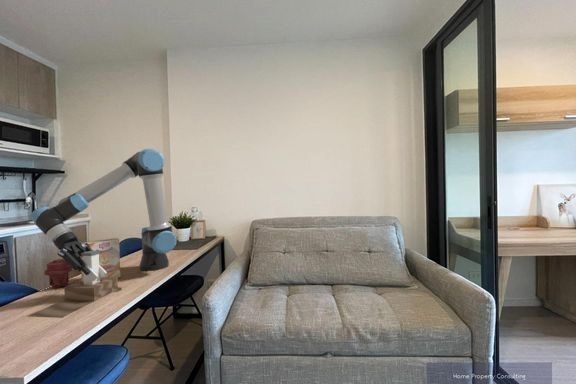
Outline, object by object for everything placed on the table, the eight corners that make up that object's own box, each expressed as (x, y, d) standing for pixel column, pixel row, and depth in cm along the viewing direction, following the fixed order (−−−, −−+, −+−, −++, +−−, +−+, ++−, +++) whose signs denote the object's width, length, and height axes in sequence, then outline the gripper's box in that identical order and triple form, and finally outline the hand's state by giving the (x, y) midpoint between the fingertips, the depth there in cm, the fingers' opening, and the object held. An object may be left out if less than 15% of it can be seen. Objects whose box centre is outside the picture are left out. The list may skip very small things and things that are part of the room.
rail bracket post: (91, 288, 123) (90, 250, 123) (101, 288, 123) (100, 250, 122) (82, 292, 119) (81, 253, 118) (92, 292, 118) (91, 253, 118)
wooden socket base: (92, 289, 130) (92, 275, 129) (121, 289, 128) (121, 276, 128) (26, 319, 101) (25, 302, 101) (62, 320, 99) (61, 303, 99)
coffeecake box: (89, 285, 135) (87, 243, 134) (81, 283, 138) (79, 242, 138) (121, 276, 148) (119, 238, 147) (113, 274, 151) (111, 237, 151)
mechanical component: (78, 283, 139) (57, 290, 129) (61, 282, 141) (39, 289, 131) (77, 257, 138) (56, 263, 128) (59, 257, 140) (38, 262, 130)
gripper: (74, 239, 131) (109, 276, 129) (37, 248, 114) (77, 290, 112) (84, 227, 130) (120, 265, 128) (48, 234, 113) (89, 277, 111)
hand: (100, 276), depth 120 cm, fingers closed on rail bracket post, 4 cm apart
